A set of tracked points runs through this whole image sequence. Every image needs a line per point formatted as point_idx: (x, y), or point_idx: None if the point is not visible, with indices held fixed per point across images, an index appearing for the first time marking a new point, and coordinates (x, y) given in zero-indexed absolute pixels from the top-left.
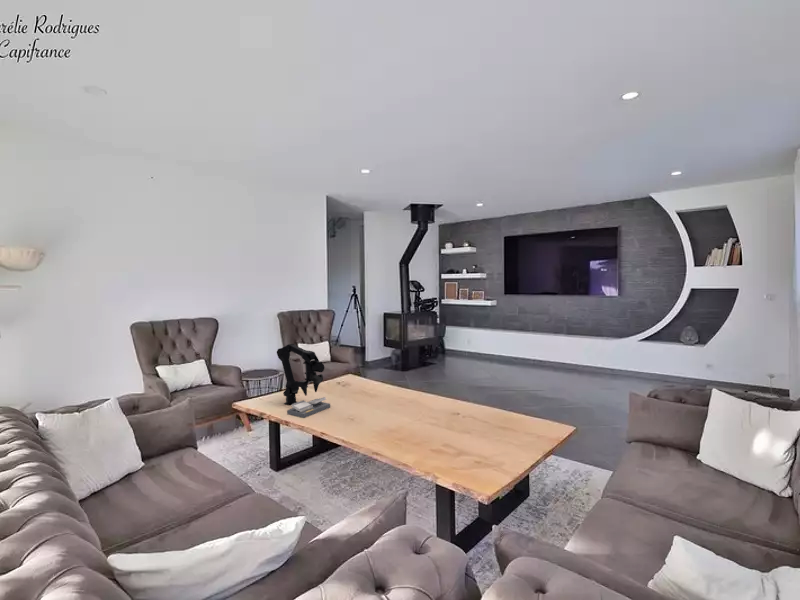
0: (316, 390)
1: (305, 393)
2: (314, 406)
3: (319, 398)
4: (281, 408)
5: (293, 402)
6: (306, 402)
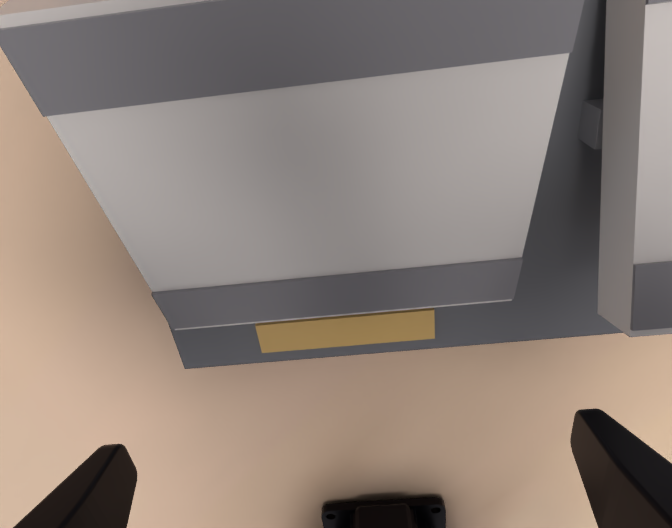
0: (82, 489)
1: (669, 483)
2: None
3: (135, 237)
4: None
5: (406, 519)
6: (657, 192)
